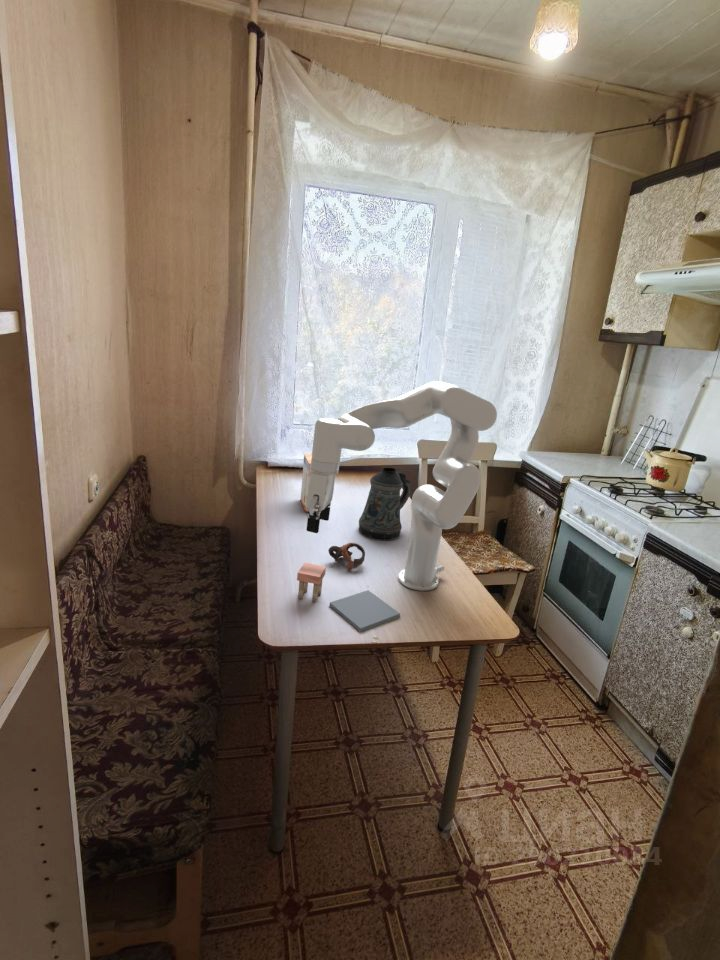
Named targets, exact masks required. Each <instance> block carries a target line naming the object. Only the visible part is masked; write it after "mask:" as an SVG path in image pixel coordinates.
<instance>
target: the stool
mask: <svg viewBox="0 0 720 960" xmlns="http://www.w3.org/2000/svg"><path fill="white" fill-rule="evenodd" d="M326 568H327V567H326V566H323V565H318V564H313V563H308V562H304V563H303V564H302V566H301V567H300V569H299V570H298V571H297V575H296V576H297V577H296V580H297V581H298V594H297V598H298V599H299V600H303V599H304V593H307V592H308V589H309V588H308V587H309V584H313V587H312V588H313V589H312V598H311V601H312V602H313V603H316V602H318V597H319V595H322V588H323V579H324V577H325V575H326V571H327V570H326ZM298 599H297V600H298Z"/></svg>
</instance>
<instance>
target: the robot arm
mask: <svg viewBox="0 0 720 960" xmlns="http://www.w3.org/2000/svg"><path fill="white" fill-rule="evenodd" d="M497 412H498V411H497V409H496V407H495V405H494V404H493V403H492V402H491V401H489V400H487V399H484V398H482V397H480V396H478V395H476V394H474V393H471V392H469V391H467V390H466V389H464V388H461V387H459V386H457V385H455V384H451V383H447V382H443V381H439V380H437V381H436V380H435V381H431V382H427V383H426V384H424V385H421V386H420V387H417V388H415V389H413V390H411V391H408V392H407V393H405V394H402V395H400V396H397V397H394V398H392V399H386V400H382V401H377V402H373V403H368V404H365V405H362V406H359V407H357V408H354V409H352V410H351V411H348V412H345V413H344V414H342V415H341V416H339V418H337V419H335V418H331V417H324V418H323V417H322V418H318V419H317V420H316V422H315V424H314V432H313V440H312V441H313V442H312V450H311V451H312V452H311V454H312V458H311V467H310V470H311V471H312V474H311V478H310V482H309V488H308V494H307V501H306V507H307V508H309V512H307V520H306V532H309V533H314V534H318V533H319V531H320V522H321V521H325V522H328V521H329V520H330V514H331V504H332V503H331V502H332V501H333V497H334V496H333V495H334V489H335V483H336V482H335V479H336V475H338V474H339V472H340V464H341V463H340V462H341V455H342V449H344V450H350V451H356V452H361V451H362V452H363V451H367V450H369V449H370V448H371V447H372V446H373V445H374V442H375V441H376V440H375V439H376V436H375V431H374V430H375V429H381V428H391V429H393V428H394V429H403V428H409V427H410V426H413V425H415V424H416V423H418V422H421V421H422V420H426V419H427V418H430V417H431V416H433V415H436V414H439V415H442V416H444V417H446V418H449V420H450V426H451V430H450V431H451V432H450V436H449V438H448V440H447V442H446V444H445V446H444V448H443V450H442V451H441V453H440V455H439V457H438V458H437V460H436V462H435V464H434V467H433V468H432V476H433V479H434V480H435V481H436V482H438V483H439V484H440V485H442V486H444V487H445V488H446V491H445V490H442V489H441V488H439V487H438V486H436V485H433V484H422V485H420V486H418V487H417V488H416V489H415V491H414V492H413V494H412V498H411V503H410V506H411V524H410V530H409V538H408V545H407V549H406V550H407V551H406V558H405V564H404V569H402V570H401V571H400V572H399V573H398V581H399V582H400V584H402V585H403V586H404V587H405V588H408V589H412V590H414V591H415V590H416V591H423V592H424V591H431V590H434V589H436V588H437V587H438V585H439V578H438V577H437V575H438V573H440V572H441V573H442V572H444V571H445V567H444V565H443V564H442V565H441V564H440V565H438V566H437V563H438V557H439V550H440V545H441V538H442V532H443V530H449V529H453V528H455V527H456V526H457V525H458V524H459V523H460V521H461V520H462V519H463V517H464V515H465V514H466V512H467V511H468V509H469V507H470V505H471V504H472V502H473V500H474V499H475V496H476V495H477V493H478V491H479V490H480V489H479V488H480V486H481V483H482V482H481V480H482V475H481V471H480V469H479V468H478V467H477V466H476V465H474V464H473V463H471V460H472V458H473V456H474V454H475V452H476V451H477V447H478V445H479V439H480V437H479V436H480V435H479V431H480V432H483V431H487V430H489V429H490V428H493V426H494V425H495V423H496V421H497V418H498V417H497V416H498V413H497ZM316 506H319V507H316ZM315 510H317V511H318V512H316V511H315Z"/></svg>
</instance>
